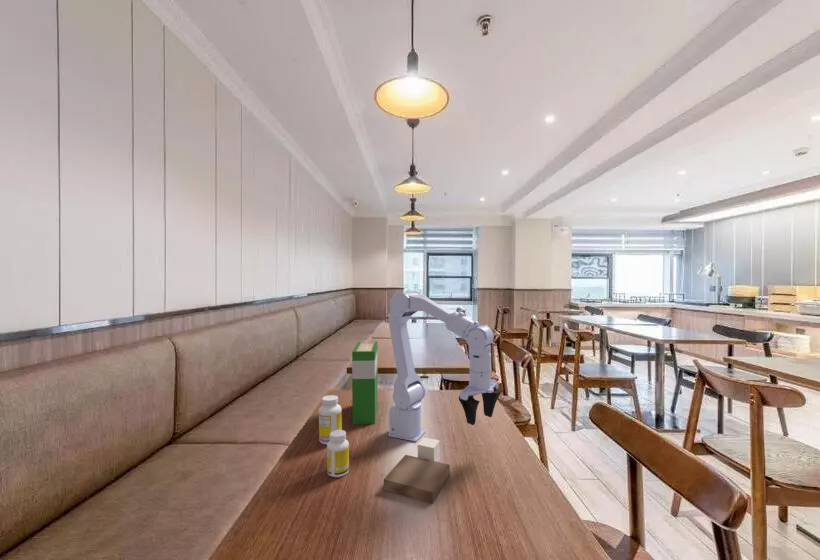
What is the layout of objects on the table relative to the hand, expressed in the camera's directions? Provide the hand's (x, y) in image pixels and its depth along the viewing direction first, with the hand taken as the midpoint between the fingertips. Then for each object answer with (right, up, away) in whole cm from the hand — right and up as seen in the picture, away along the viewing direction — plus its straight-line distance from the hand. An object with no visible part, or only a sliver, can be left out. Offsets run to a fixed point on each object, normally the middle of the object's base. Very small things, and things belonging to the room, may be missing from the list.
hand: (479, 419), depth 96 cm
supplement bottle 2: (-37, -10, -8) cm, 39 cm away
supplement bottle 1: (-43, -10, +9) cm, 45 cm away
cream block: (-14, -10, -3) cm, 17 cm away
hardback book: (-35, -10, +29) cm, 47 cm away
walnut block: (-17, -10, -12) cm, 23 cm away
